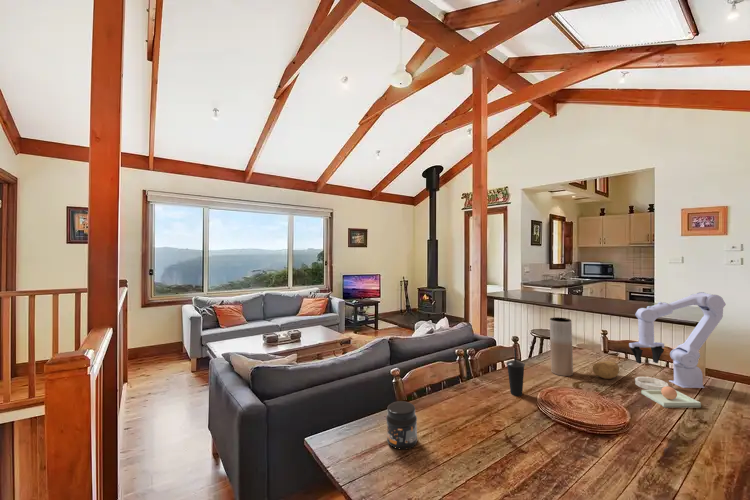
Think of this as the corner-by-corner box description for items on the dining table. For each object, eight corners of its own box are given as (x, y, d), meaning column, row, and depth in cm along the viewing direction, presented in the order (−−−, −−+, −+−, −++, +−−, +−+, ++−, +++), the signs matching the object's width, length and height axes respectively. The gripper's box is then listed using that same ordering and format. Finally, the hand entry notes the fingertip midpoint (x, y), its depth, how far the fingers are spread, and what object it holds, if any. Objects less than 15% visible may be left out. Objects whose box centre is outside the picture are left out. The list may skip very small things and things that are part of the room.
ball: (671, 395, 140) (670, 384, 140) (680, 401, 135) (680, 389, 135) (658, 396, 140) (657, 384, 140) (667, 401, 135) (666, 389, 135)
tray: (675, 394, 143) (675, 389, 143) (700, 407, 131) (700, 402, 131) (641, 394, 144) (641, 389, 144) (663, 407, 132) (663, 402, 132)
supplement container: (382, 437, 117) (381, 403, 117) (409, 430, 121) (408, 398, 121) (394, 454, 107) (393, 417, 107) (423, 446, 111) (422, 410, 111)
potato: (625, 378, 162) (625, 362, 162) (608, 384, 156) (607, 367, 156) (605, 372, 171) (604, 356, 171) (587, 377, 165) (587, 361, 165)
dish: (654, 381, 157) (654, 376, 157) (675, 392, 145) (675, 386, 145) (629, 381, 158) (629, 376, 158) (647, 392, 146) (647, 386, 146)
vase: (546, 370, 175) (545, 318, 175) (561, 368, 178) (559, 316, 178) (562, 377, 165) (560, 322, 165) (577, 374, 168) (576, 320, 168)
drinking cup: (522, 390, 152) (521, 346, 152) (528, 397, 144) (527, 351, 144) (505, 390, 153) (503, 346, 153) (510, 397, 145) (508, 351, 145)
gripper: (636, 336, 153) (637, 365, 153) (669, 335, 152) (670, 365, 152) (625, 332, 160) (626, 360, 160) (657, 332, 159) (658, 360, 159)
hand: (647, 362), depth 156 cm, fingers open, 7 cm apart
